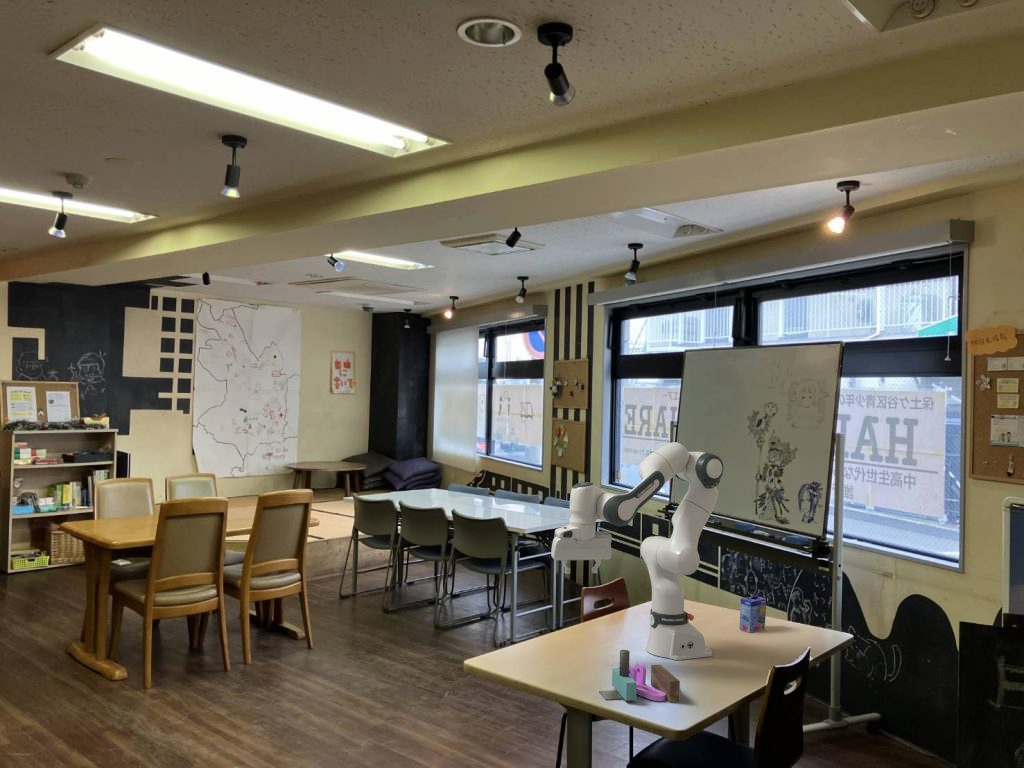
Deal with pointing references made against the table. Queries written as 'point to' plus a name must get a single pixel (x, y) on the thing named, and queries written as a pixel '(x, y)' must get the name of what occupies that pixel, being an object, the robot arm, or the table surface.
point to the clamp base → (654, 685)
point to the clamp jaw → (624, 678)
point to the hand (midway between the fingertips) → (580, 573)
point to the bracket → (641, 688)
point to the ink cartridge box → (752, 613)
